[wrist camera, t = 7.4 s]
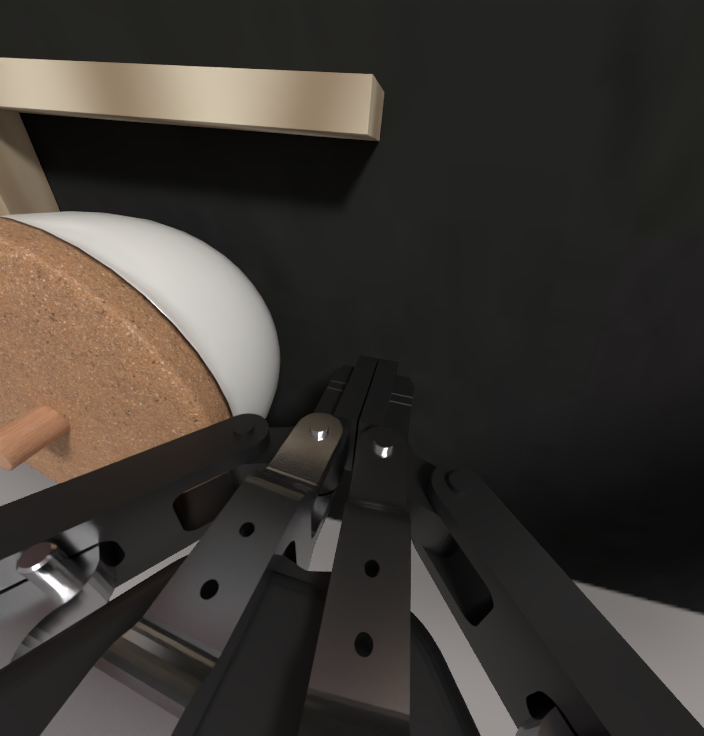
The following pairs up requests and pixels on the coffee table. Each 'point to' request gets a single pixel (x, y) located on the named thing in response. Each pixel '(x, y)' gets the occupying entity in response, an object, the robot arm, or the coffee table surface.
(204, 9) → the coffee table surface
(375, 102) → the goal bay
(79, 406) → the lidded jar
